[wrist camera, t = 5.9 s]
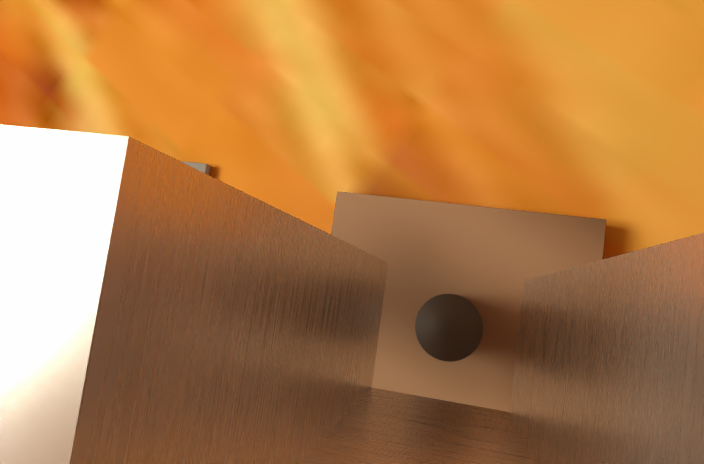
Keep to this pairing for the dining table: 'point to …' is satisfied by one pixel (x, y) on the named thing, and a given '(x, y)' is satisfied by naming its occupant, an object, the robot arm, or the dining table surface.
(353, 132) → the dining table surface
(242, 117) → the dining table surface
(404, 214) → the walnut stand
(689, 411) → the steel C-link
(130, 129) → the dining table surface
